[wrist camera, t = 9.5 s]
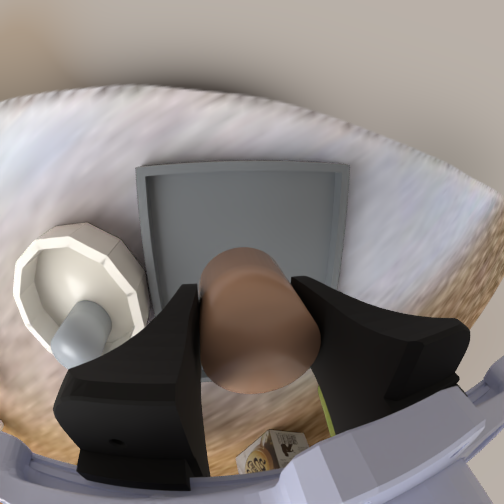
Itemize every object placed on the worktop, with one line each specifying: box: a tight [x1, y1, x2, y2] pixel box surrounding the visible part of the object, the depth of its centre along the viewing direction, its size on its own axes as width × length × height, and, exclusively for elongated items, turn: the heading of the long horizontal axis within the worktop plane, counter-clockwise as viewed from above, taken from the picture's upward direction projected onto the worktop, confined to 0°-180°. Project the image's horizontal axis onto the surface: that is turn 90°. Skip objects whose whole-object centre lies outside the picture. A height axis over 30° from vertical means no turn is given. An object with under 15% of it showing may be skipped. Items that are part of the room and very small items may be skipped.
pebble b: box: [199, 247, 321, 394], centre depth 10 cm, size 4×4×4 cm
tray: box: [135, 160, 350, 382], centre depth 20 cm, size 18×14×2 cm
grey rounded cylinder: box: [51, 300, 112, 370], centre depth 17 cm, size 4×4×4 cm
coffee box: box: [236, 430, 309, 475], centre depth 24 cm, size 9×6×16 cm
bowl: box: [13, 223, 151, 356], centre depth 17 cm, size 11×11×3 cm
